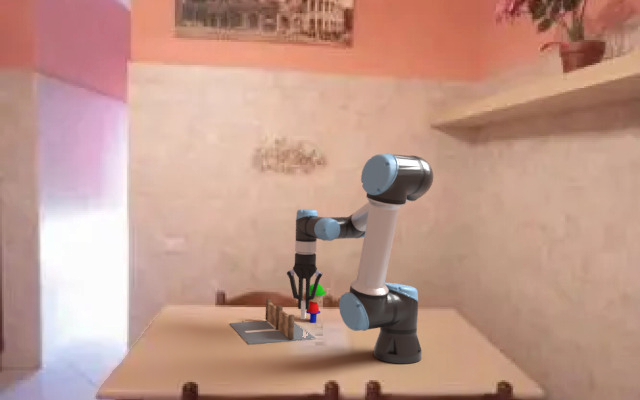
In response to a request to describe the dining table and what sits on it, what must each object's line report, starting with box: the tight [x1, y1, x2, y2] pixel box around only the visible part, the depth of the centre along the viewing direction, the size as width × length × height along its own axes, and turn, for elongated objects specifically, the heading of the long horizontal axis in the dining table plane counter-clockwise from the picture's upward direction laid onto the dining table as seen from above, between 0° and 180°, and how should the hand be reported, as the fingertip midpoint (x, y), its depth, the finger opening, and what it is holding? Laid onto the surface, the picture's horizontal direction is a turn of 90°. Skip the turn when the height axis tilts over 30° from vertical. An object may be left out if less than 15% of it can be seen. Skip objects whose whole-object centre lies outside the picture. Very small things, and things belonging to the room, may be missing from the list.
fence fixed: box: [265, 298, 284, 330], centre depth 216 cm, size 16×2×9 cm, turn 22°
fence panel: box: [278, 310, 295, 339], centre depth 202 cm, size 13×2×8 cm, turn 22°
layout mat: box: [229, 320, 316, 346], centre depth 209 cm, size 28×24×1 cm
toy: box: [306, 283, 327, 324], centre depth 225 cm, size 8×8×15 cm
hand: (303, 318), depth 204 cm, fingers closed
